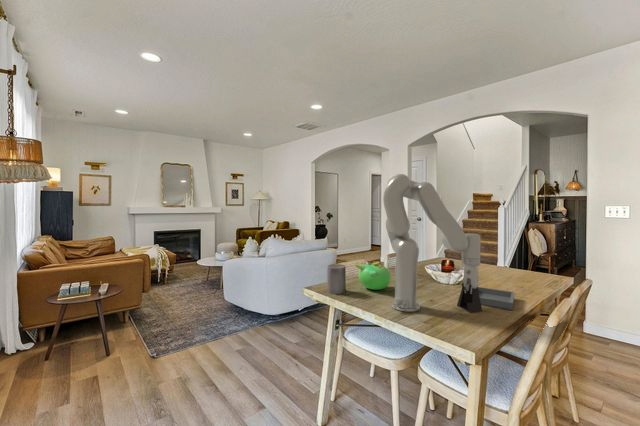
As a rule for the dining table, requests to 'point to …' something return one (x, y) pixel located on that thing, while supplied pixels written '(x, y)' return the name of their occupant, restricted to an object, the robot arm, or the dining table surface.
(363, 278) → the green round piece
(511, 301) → the tray
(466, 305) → the door stopper
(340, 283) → the pillar candle
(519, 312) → the dining table surface
